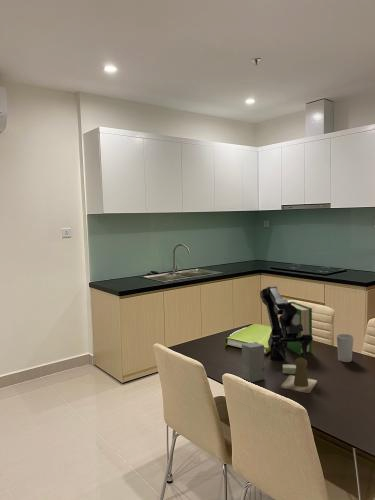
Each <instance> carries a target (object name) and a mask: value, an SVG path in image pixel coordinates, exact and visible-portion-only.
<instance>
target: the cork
mask: <svg viewBox="0 0 375 500" xmlns="http://www.w3.org/2000/svg"><path fill="white" fill-rule="evenodd" d="M294 365H295V366H296V370H295V374H294V376H295V378H294V385H296V386H299V387H306V386H308V379H309V378H308V373H307V366H308V361H307V359H306V358H305V357H304V358H303V357H297V358H296V359H295V360H294Z"/></svg>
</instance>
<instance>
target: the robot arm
mask: <svg viewBox="0 0 375 500" xmlns="http://www.w3.org/2000/svg"><path fill="white" fill-rule="evenodd" d="M259 297H260V299H261V301H262V304H264V305H265V306H266V310H267V314H268V319H269V323H270V328H271V331H270V333H269V338H268V340H267V345H268V347H269V349H270V357H269V360H272V361H278V362H282V361H283V360H287V359H286V358H287V356H286V349H285V348H287V343H288V342H301V344H302V345H301V348H302V351H303V353H302V354H303V357H304V359H306V358H307V354H308V352H307V346H308V345H309V344H310V343H311V341H312V342H313V340H314V339H313V334H312V335H311V334H303V335H302V337H296V336H298V333H300V332H302V331H303V326H302V324H298V325H297V326H294V325H293V322H292V320H293V319H294V317H295V315H296V313H297V309H296V307H295V306H293V305H291V303H289V302H290V301H288V300H286V299H283V297H282V295H281V293H280V291H279V290H278V286H275V285H273V286H267V287H266V288H263V289H261V290H260V293H259ZM279 315H280V316H279ZM287 349H288V348H287Z"/></svg>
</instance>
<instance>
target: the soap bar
mask: <svg viewBox="0 0 375 500" xmlns="http://www.w3.org/2000/svg"><path fill="white" fill-rule="evenodd" d="M295 370H296V366H295V364H288V363H287V364H282V373H283V374H288V375H295Z"/></svg>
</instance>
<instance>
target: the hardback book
mask: <svg viewBox="0 0 375 500" xmlns="http://www.w3.org/2000/svg"><path fill="white" fill-rule="evenodd" d="M288 302H289V303H291V305H293V306H295V307H296V309H297V313H296V315H295V317H294V319H293V320H292V322H293V325H294V326H297V325H298V324H302V326H303V331H302V332H300V333H298V336H296V337H302V335H303V334H311V335H312V336H313V308H312V307H309V306H307V305H304V304H301V303H297V302H296V301H288ZM312 344H313V340H312V341H311V343H310V344H309V345H308V346H307V353H309V354H312V353H313V345H312ZM301 345H302V344H301V342H288V343H287V349H289V350H290V351H292V352H293V353H295V354H298V355H302V354H303V351H302V348H301Z"/></svg>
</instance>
